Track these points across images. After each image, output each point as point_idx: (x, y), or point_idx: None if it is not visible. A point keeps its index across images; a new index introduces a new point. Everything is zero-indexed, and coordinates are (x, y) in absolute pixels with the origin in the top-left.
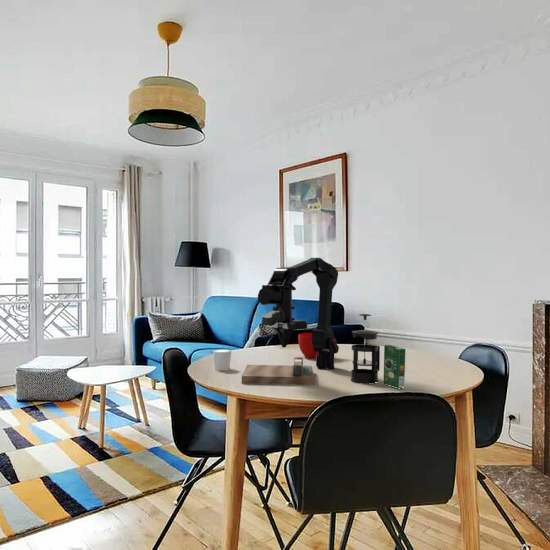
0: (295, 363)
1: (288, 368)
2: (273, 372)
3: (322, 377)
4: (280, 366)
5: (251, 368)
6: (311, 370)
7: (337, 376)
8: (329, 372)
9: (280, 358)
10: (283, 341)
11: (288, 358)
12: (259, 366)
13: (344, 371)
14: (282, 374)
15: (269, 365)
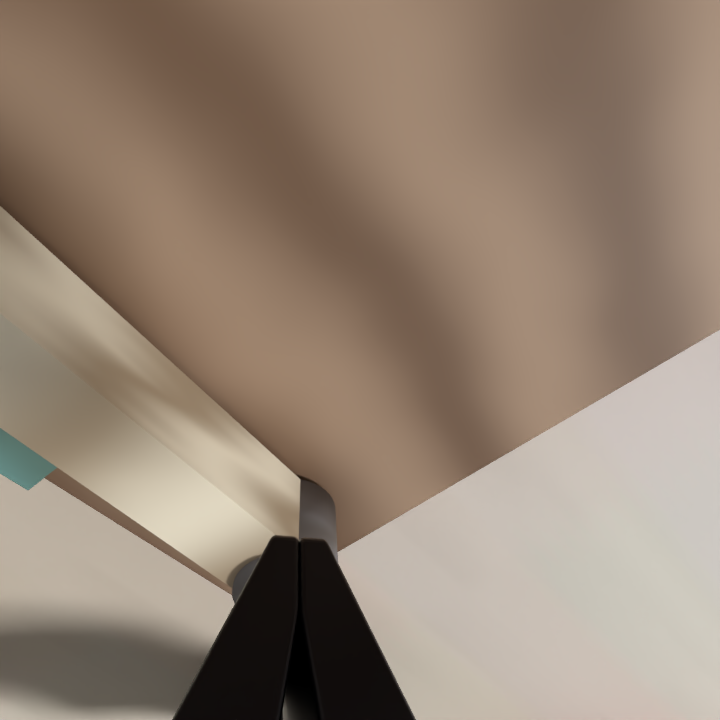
0: (4, 343)
1: (317, 407)
2: (275, 80)
3: (51, 497)
4: (455, 425)
5: (714, 80)
6: (74, 484)
7: (16, 582)
8: (170, 626)
9: (717, 691)
10: (221, 664)
11: (667, 713)
12: (668, 269)
13: (130, 690)
14: (70, 57)
15: (588, 388)
